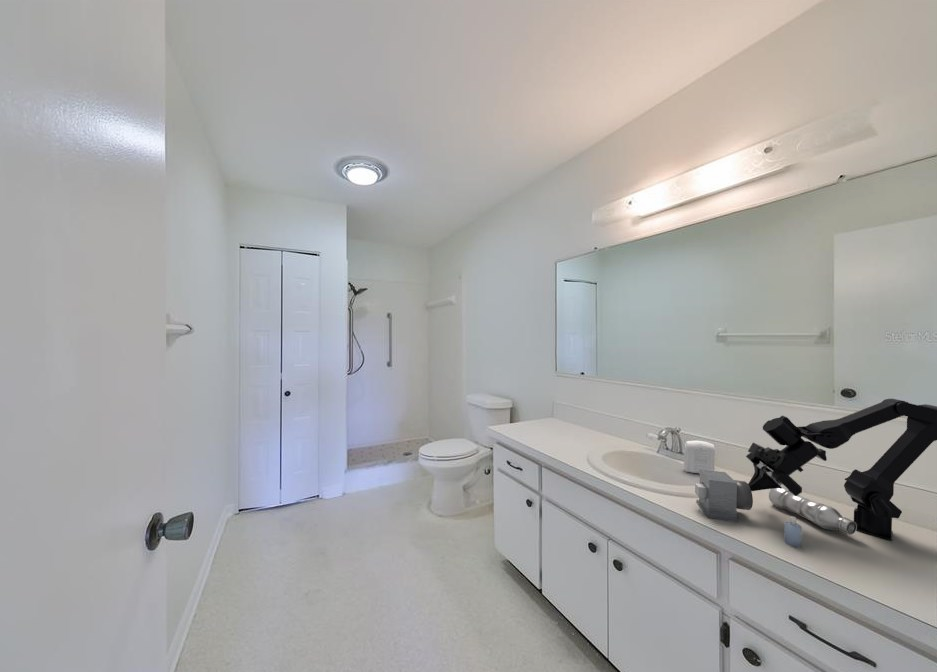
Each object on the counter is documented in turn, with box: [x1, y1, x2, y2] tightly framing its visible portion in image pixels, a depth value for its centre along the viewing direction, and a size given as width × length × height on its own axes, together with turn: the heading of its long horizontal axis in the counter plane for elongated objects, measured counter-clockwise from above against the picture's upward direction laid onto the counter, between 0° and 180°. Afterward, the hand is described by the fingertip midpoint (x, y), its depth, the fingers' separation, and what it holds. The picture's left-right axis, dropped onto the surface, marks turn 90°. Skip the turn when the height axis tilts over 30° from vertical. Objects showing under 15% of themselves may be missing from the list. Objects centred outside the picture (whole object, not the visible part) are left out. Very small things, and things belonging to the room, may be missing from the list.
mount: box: [696, 470, 741, 523], centre depth 107 cm, size 8×10×11 cm
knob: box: [694, 479, 754, 511], centre depth 107 cm, size 13×8×8 cm, turn 74°
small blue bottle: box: [783, 515, 803, 548], centre depth 91 cm, size 3×3×7 cm
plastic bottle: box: [768, 485, 857, 535], centre depth 103 cm, size 6×7×20 cm
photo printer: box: [683, 439, 716, 474], centre depth 137 cm, size 10×4×12 cm, turn 72°
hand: (747, 489), depth 105 cm, fingers closed, pressing on knob
